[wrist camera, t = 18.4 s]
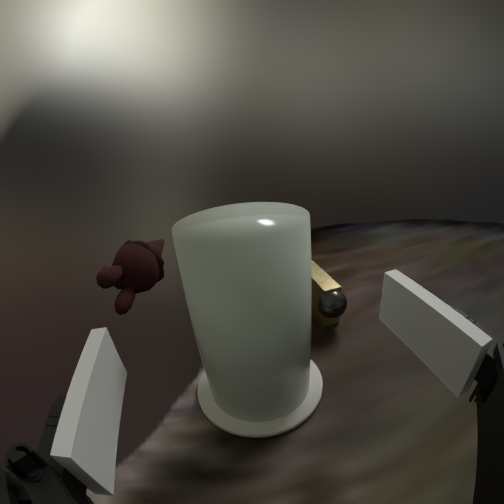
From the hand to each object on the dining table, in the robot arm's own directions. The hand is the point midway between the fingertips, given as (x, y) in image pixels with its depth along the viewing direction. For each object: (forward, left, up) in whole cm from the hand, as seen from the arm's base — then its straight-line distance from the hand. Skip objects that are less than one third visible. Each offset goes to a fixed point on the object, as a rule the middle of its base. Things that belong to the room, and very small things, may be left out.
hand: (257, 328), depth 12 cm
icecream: (+10, -25, -9) cm, 28 cm away
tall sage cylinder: (0, -4, -8) cm, 9 cm away
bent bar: (-5, -13, -9) cm, 16 cm away
